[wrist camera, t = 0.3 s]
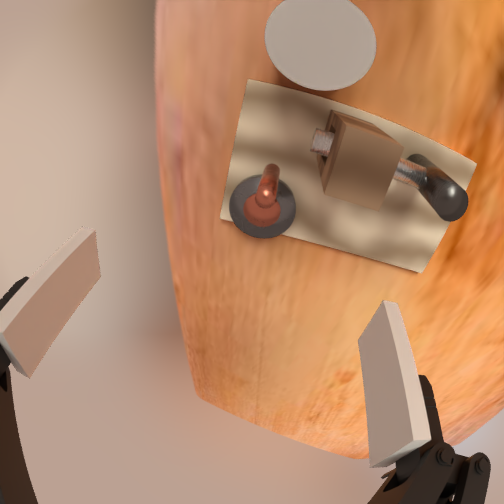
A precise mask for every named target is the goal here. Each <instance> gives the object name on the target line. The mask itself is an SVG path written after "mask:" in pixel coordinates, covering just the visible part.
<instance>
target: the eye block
mask: <svg viewBox="0 0 504 504" xmlns="http://www.w3.org/2000/svg"><path fill="white" fill-rule="evenodd" d="M316 128H319V129H322V130H325V131H329V132H332V133H335V135H334V138H333V141H332V144H331V148H330V151H329V154H328V157H327V156H324V155H321V154H317V153H314V152H310V145H311V141H312V137H313V134H314V131H315V129H316ZM413 154H421V155H423V156H425V157H426V158H427V159H429V160H430V161H431V162H432V163H434V164H435V165H436V166H437V167H439V168H440V169H441V170H442V171H443V172H445V173H446V174H447V175H448V176H449V177H450V178H452V179H453V180H454V181H455V182H456V183H457V184H458V185H460V186H461V187H462V188H463V189H464V190H465V191H466V189H467V187H468V184H469V182H470V180H471V177H472V175H473V173H474V170H475V168H476V165H477V164H476V163H475V162H473V161H472V160H470V159H468V158H466V157H465V156H463V155H461V154H459V153H457V152H455V151H453V150H452V149H450V148H448V147H446V146H444V145H442V144H440V143H438V142H436V141H434V140H432V139H430V138H428V137H425V136H423V135H421V134H419V133H417V132H415V131H412V130H410V129H408V128H406V127H403V126H401V125H399V124H396V123H394V122H391V121H389V120H386V119H384V118H381V117H379V116H376V115H374V114H371V113H368V112H366V111H363V110H360V109H357V108H354V107H351V106H349V105H346V104H343V103H340V102H336V101H333V100H330V99H327V98H324V97H320V96H317V95H314V94H310V93H306V92H303V91H299V90H295V89H291V88H288V87H284V86H279V85H275V84H271V83H266V82H262V81H257V80H252V79H248V81H247V85H246V90H245V94H244V99H243V103H242V108H241V113H240V117H239V122H238V127H237V132H236V136H235V141H234V146H233V151H232V156H231V161H230V166H229V171H228V176H227V182H226V187H225V192H224V197H223V203H222V208H221V214H220V219H224V220H228V221H232V222H233V220H232V218H231V216H230V212H229V201H230V197H231V195H232V193H233V191H234V189H235V188H236V186H237V185H238V184H239V183H240V182H241V181H242V180H244V179H246V178H248V177H250V176H253V175H260V174H263V171H264V168H265V166H266V165H268V164H271V163H273V164H276V165H277V166H278V167H279V168H280V175H279V179H280V180H282V181H283V182H284V183H286V184H287V185H288V186H289V188H290V189H291V190H292V192H293V194H294V197H295V201H296V214H295V218H294V221H293V223H292V224H291V226H290V227H289V228H288V229H287V230H286V231H285V232H284V233H282V235H286V236H290V237H294V238H297V239H301V240H305V241H309V242H312V243H316V244H320V245H324V246H327V247H331V248H335V249H338V250H342V251H345V252H349V253H353V254H356V255H360V256H363V257H367V258H371V259H374V260H378V261H381V262H385V263H388V264H392V265H395V266H399V267H402V268H405V269H409V270H412V271H416V272H419V273H422V272H423V271H424V269H425V267H426V266H427V264H428V262H429V260H430V259H431V257H432V255H433V254H434V252H435V250H436V248H437V246H438V245H439V243H440V241H441V239H442V237H443V235H444V234H445V232H446V230H447V228H448V226H449V224H450V222H448V221H444V220H443V219H441V218H440V217H439V215H438V214H437V213H436V212H435V210H434V209H433V208H432V207H431V205H430V204H429V203H428V202H427V200H426V199H425V198H424V197H423V196H422V195H421V193H420V192H419V191H418V190H417V189H416V188H415V187H412V186H410V185H407V184H405V183H402V182H400V181H397V180H395V179H393V176H394V174H395V171H396V169H397V166H398V163H399V161H400V158H404V159H407V158H408V157H409V156H410V155H413Z"/></svg>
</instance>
